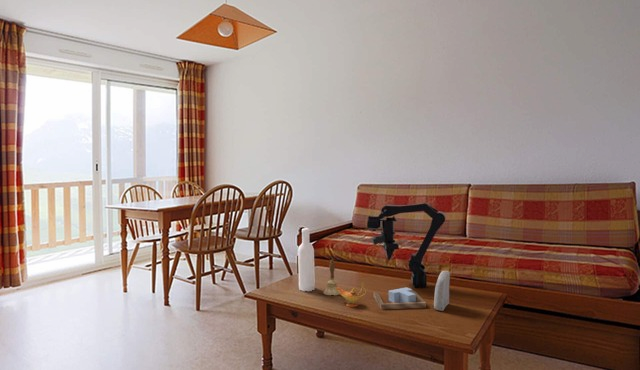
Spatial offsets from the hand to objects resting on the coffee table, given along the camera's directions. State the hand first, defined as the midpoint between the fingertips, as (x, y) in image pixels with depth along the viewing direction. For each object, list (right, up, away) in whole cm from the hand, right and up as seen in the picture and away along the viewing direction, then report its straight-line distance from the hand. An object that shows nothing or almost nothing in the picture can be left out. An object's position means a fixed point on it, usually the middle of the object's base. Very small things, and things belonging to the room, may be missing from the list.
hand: (388, 260), depth 195 cm
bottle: (-41, -13, -6) cm, 44 cm away
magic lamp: (-22, -14, -28) cm, 39 cm away
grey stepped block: (+2, -13, -27) cm, 30 cm away
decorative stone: (+16, -13, -35) cm, 40 cm away
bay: (0, -13, -26) cm, 30 cm away
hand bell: (-29, -13, -13) cm, 35 cm away
